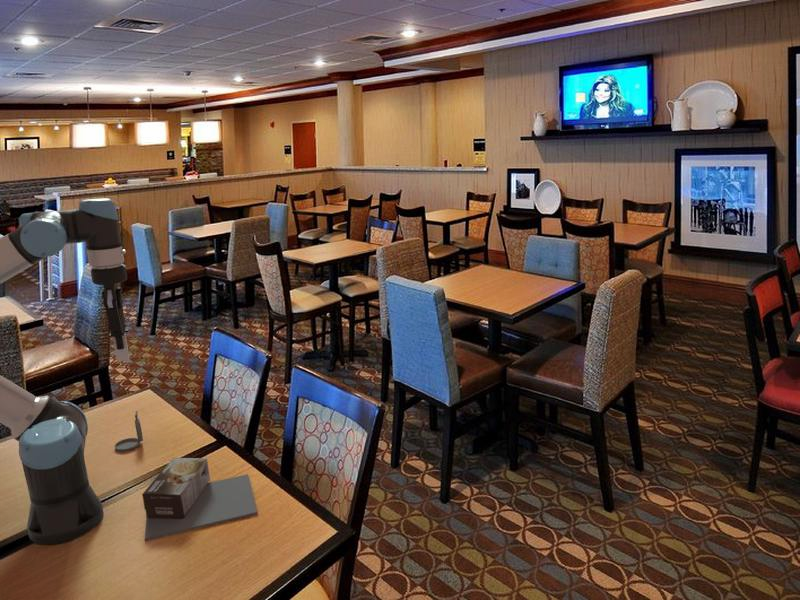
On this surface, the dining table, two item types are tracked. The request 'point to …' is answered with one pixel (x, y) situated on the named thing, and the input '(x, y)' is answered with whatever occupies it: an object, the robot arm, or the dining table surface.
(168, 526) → the mat
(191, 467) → the coffee box
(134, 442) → the pocket watch
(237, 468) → the dining table surface
